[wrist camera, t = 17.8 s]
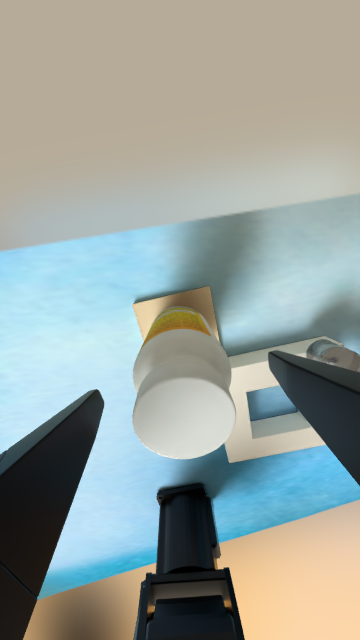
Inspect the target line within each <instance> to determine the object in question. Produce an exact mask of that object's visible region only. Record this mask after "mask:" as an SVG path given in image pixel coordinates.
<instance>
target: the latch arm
mask: <svg viewBox="0 0 360 640" xmlns="http://www.w3.org/2000/svg"><path fill="white" fill-rule="evenodd" d="M306 358H308V359H312V360H316V361H320V362H323V363H327V364H331V365H335V366H338V367H342V368H346V369H350V370H354V371H357V372H360V354H357V353H356V352H354V351H351V350H349V349H347V348H345V347H342V346H340V345H338V344H336V343H334V342H331V341H329V340H326V339H320V340H317V341H315V342H313V343H312V344H311V345H310V346H309V347H308V349H307V351H306Z"/></svg>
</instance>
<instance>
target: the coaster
mask: <svg viewBox="0 0 360 640" xmlns="http://www.w3.org/2000/svg"><path fill="white" fill-rule="evenodd" d="M132 306H133V309H134V312H135V315H136V319H137V322H138V325H139V328H140V331H141V334H142V337H143V340H144V341H145V339H146V336H147V334H148V332H149V330H150V328H151V326H152V324H153V322H154V320H155V319H156V317H157V316H158V315H159V314H160V313H162V312H163V311H165V310H166V309H169V308H172V307H188V308H191V309H194V310H195V311H197V312H199V313H200V314H201V315H202V316H203V317H204V318H205V320H206V321H207V323H208V325H209V326H210V328H211V330H212V331H213V333H214V334H215V336H216V338H217V339H218V341H219V336H218V330H217V325H216V319H215V313H214V308H213V302H212V296H211V290H210V286H206V287H202V288H197V289H193V290H189V291H185V292H180V293H176V294H172V295H168V296H163V297H159V298H155V299H151V300H146V301H142V302H138V303H134V304H132Z"/></svg>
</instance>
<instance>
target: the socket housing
mask: <svg viewBox="0 0 360 640" xmlns="http://www.w3.org/2000/svg"><path fill="white" fill-rule="evenodd" d="M320 339H326V340H329V341H331V342H334V343H336V344H338V345H340V346H342V347H344V344H342V343H340V342H337V341H335V340H333V339H330V338H328V337H326V336H322V337H317V338H313V339H308V340H303V341H299V342H294V343H290V344H285V345H280V346H276V347H271V348H267V349H262V350H258V351H253V352H248V353H244V354H239V355H235V356H230V357H228V358H229V361H230V365H231V372H232V377H231V384H230V388H229V392H230V394H231V396H232V399H233V401H234V404H235V407H236V423H235V426H234V429H233V431H232V433H231V435H230V436H229V438H228V439H227V440H226V441H225V443H224V446H225V449H226V453H227V456H228V460H229V463H234V462H239V461H244V460H249V459H254V458H259V457H265V456H270V455H275V454H280V453H285V452H290V451H295V450H301V449H306V448H311V447H316V446H321V445H326V444H325V442H324V441H323V440H322V439H321V437H320V436H319V435H318V434H317V433H316V431H315V430H314V429H313V428H312V426H311V425H310V424H309V423H308V421H307V420H306V419H305V418H304V416H303V415H302V414H301V413H300V412H299V410H298V409H297V411H298V412H296V413H291V414H286V415H281V416H276V417H271V418H266V419H261V420H256V421H251V422H250V417H249V409H248V402H247V395H246V392H249V391H254V390H259V389H264V388H268V387H273V386H278V385H280V384H279V383H278V381H277V380H276V378H275V377H274V375H273V374H272V372H271V371H270V368H269V363H268V352H270V351H274V350H278V351H282V352H286V353H290V354H293V355H297V356H301V357H305V358H306V351H307V349H308V347H309V346H310V345H311V344H312V343H313V342H315V341H317V340H320Z"/></svg>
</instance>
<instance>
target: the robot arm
mask: <svg viewBox="0 0 360 640" xmlns="http://www.w3.org/2000/svg"><path fill="white" fill-rule="evenodd" d="M268 363H269V368H270V371H271V372H272V374H273V375H274V377H275V378H276V380H277V381H278V383H279V384H280V386H281V387H282V389H283V391H284V392H285V394H286V395H287V396H288V398H289V399H290V400H291V402H292V403H293V404H294V405H295V407H296V408H297V409H298V410H299V412H300V413H301V414H302V415H303V416H304V418H305V419H306V420H307V421H308V423H309V424H310V425H311V426H312V428H313V429H314V430H315V431H316V433H317V434H318V435H319V436H320V437H321V439H322V440H323V441H324V442H325V444H326V445H327V446H328V447H329V449H330V450H331V451H332V452H333V453H334V455H335V456H336V457H337V458H338V460H339V461H340V462H341V463H342V465H343V466H344V467H345V468H346V470H347V471H348V472H349V473H350V474H351V476H352V477H353V478H354V479H355V481H356V482H357V483H358V484H359V486H360V372H357V371H354V370H350V369H346V368H342V367H338V366H335V365H331V364H327V363H323V362H320V361H316V360H312V359H308V358H305V357H301V356H297V355H293V354H290V353H286V352H282V351H278V350H274V351H270V352H268ZM103 409H104V400H103V398H102V396H101V394H100V392H99V390H97V389H95V390H91V391H88V392H87V393H86V394H84V395H83V396H81V397H80V398H79V399H77V400H76V401H74V402H73V403H72V404H70V405H69V406H67V407H66V408H65V409H63V410H62V411H60V412H59V413H58V414H56V415H55V416H54V417H52V418H51V419H49V420H48V421H47V422H45V423H44V424H42V425H41V426H40V427H38V428H37V429H35V430H34V431H33V432H31V433H30V434H28V435H27V436H26V437H24V438H23V439H21V440H20V441H19V442H17V443H16V444H14V445H13V446H12V447H10V448H9V449H8V450H6V451H5V452H3V453H2V454H0V640H23V638H24V635H25V632H26V629H27V627H28V624H29V621H30V618H31V615H32V612H33V610H34V607H35V604H36V602H37V597H38V595H39V593H40V590H41V587H42V585H43V582H44V579H45V576H46V574H47V571H48V568H49V565H50V563H51V560H52V557H53V554H54V552H55V549H56V546H57V543H58V540H59V538H60V535H61V532H62V529H63V527H64V524H65V521H66V518H67V516H68V513H69V510H70V507H71V505H72V502H73V499H74V496H75V494H76V491H77V488H78V485H79V482H80V480H81V477H82V474H83V471H84V469H85V466H86V463H87V460H88V458H89V455H90V452H91V449H92V447H93V444H94V441H95V438H96V435H97V431H98V428H99V424H100V420H101V416H102V412H103ZM157 500H158V503H159V505H160V516H159V532H158V548H157V564H156V574H152V573H147V574H146V580H144V581H143V582H142V583H141V590H140V600H139V608H138V616H137V622H136V627H135V633H134V639H133V640H245V639H244V635H243V629H242V625H241V620H240V616H239V611H238V606H237V602H236V597H235V593H234V588H233V584H232V579H231V574H230V570H229V568H228V567H227V568H224V569H219V570H218V567H217V561H216V559H217V558H220V556H221V553H220V547H219V540H218V534H217V528H216V522H215V516H214V509H213V506H212V502H211V499H210V498H209V497H207V494H206V491H205V487H204V485H203V484H197V485H192V486H187V487H181V488H176V489H171V490H166V491H160V492H158V493H157ZM154 606H155V610H154Z"/></svg>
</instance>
